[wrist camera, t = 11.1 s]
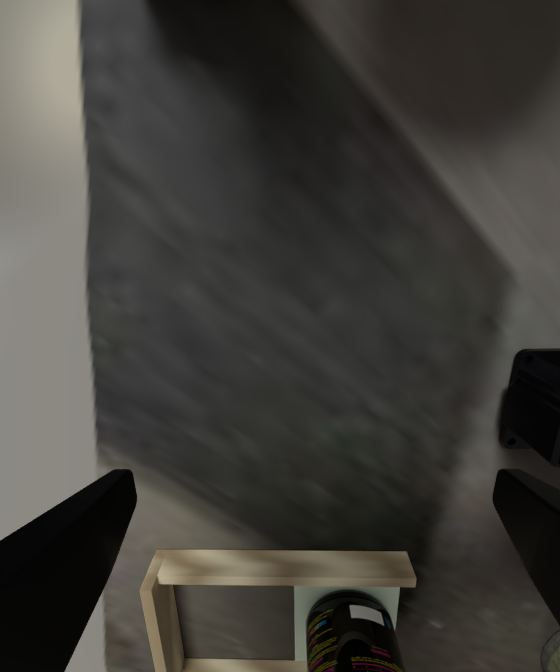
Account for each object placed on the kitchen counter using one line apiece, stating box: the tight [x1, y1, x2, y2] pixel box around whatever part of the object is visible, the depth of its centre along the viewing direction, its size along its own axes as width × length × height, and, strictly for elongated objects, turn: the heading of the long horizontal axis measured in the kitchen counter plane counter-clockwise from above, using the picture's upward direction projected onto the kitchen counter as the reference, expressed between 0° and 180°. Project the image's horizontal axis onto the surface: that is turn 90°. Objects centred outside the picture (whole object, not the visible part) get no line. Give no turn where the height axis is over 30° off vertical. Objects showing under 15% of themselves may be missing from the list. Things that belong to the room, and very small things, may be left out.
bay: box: [139, 549, 417, 672], centre depth 25 cm, size 19×13×3 cm
